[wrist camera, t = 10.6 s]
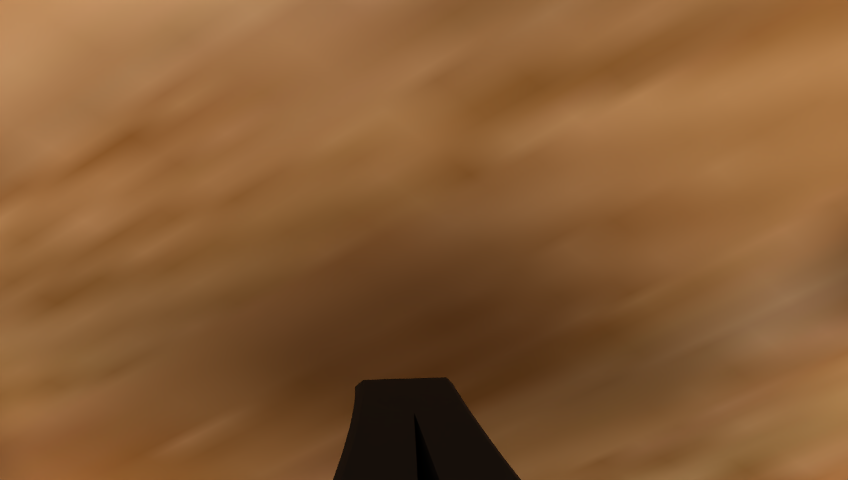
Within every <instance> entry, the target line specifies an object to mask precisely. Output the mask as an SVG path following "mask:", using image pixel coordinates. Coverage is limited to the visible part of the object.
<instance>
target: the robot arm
mask: <svg viewBox="0 0 848 480" xmlns="http://www.w3.org/2000/svg"><path fill="white" fill-rule="evenodd" d="M333 480H521V479H520V478H519V477H518V475H517V474H516V473H515V472H514V470H513V469H512V468H511V467H510V465H509V464H508V463H507V461H506V460H505V459H504V458H503V456H502V455H501V453H500V452H499V451H498V449H497V448H496V447H495V445H494V444H493V443H492V441H491V440H490V439H489V437H488V436H487V434H486V433H485V432H484V430H483V429H482V427H481V426H480V425H479V423H478V422H477V420H476V419H475V417H474V416H473V414H472V413H471V412H470V410H469V409H468V407H467V406H466V404H465V403H464V401H463V399H462V398H461V396H460V395H459V393H458V392H457V390H456V389H455V387H454V385H453V384H452V383H451V382H450V381H449V380H448V379H447V378H446V377H445V378H413V379H381V380H363V381H362V382H360V383H359V384H358V385H357V386H356V387H355V402H354V409H353V414H352V419H351V424H350V428H349V431H348V435H347V439H346V442H345V446H344V449H343V453H342V455H341V458H340V461H339V464H338V467H337V470H336V473H335V476H334V478H333Z"/></svg>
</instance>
